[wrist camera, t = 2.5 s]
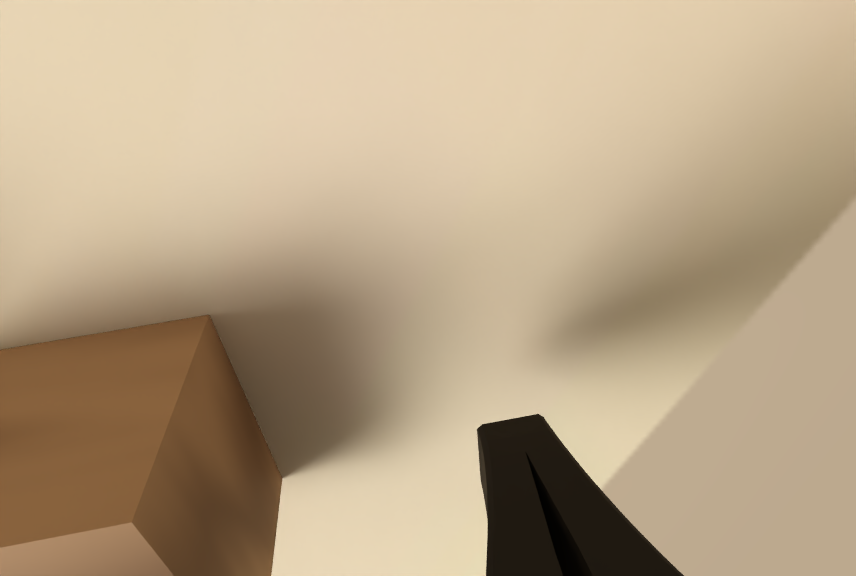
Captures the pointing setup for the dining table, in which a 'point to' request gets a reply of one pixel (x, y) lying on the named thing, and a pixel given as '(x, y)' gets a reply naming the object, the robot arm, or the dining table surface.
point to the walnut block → (133, 458)
